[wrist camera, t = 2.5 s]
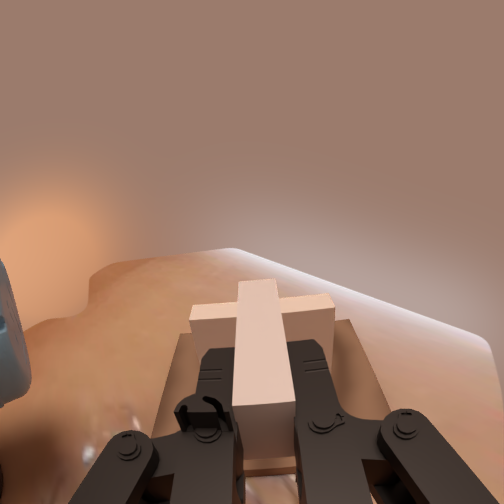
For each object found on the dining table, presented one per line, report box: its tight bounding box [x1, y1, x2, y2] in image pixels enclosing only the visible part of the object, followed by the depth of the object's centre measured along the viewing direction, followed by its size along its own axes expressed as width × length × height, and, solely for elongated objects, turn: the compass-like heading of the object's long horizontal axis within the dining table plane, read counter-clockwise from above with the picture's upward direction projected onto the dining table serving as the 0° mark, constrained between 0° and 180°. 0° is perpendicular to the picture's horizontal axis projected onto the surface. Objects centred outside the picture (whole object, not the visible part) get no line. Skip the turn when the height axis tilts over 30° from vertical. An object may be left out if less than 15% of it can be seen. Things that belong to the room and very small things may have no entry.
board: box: [151, 319, 391, 477], centre depth 33 cm, size 24×22×2 cm
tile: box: [189, 293, 335, 374], centre depth 24 cm, size 10×2×14 cm, turn 91°
